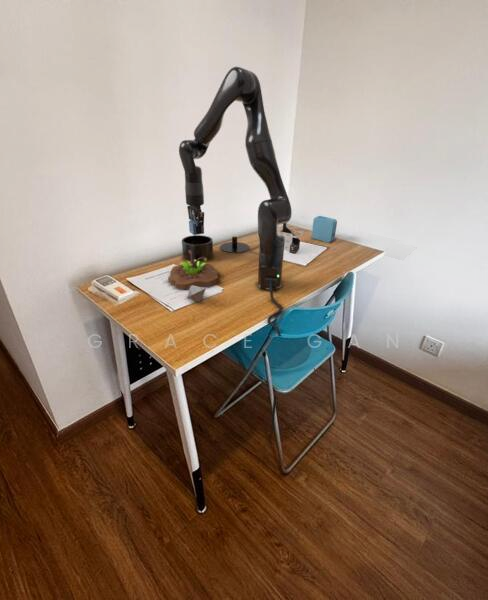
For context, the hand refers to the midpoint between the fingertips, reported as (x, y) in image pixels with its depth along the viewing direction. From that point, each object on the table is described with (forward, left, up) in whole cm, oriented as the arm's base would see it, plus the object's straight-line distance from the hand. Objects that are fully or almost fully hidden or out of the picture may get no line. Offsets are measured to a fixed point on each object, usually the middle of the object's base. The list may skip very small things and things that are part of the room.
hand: (196, 231), depth 143 cm
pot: (0, 0, -12) cm, 12 cm away
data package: (+41, -58, -12) cm, 72 cm away
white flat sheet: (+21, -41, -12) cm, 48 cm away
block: (0, 0, 0) cm, 0 cm away
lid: (+15, -14, -12) cm, 24 cm away
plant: (-21, -5, -12) cm, 25 cm away
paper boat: (-38, -13, -12) cm, 42 cm away
